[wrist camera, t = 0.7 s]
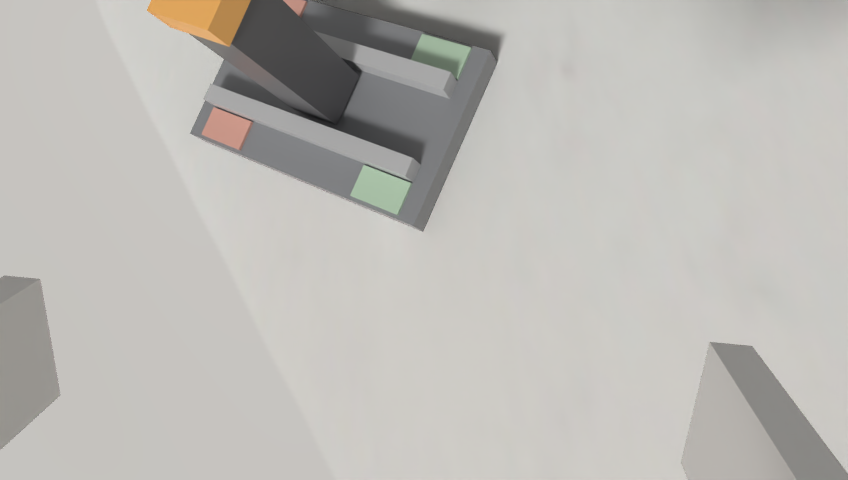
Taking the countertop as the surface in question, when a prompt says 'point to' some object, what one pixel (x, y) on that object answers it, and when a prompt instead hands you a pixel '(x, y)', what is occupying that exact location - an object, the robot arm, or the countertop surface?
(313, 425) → the countertop surface
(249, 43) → the breaker handle
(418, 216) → the grey base
